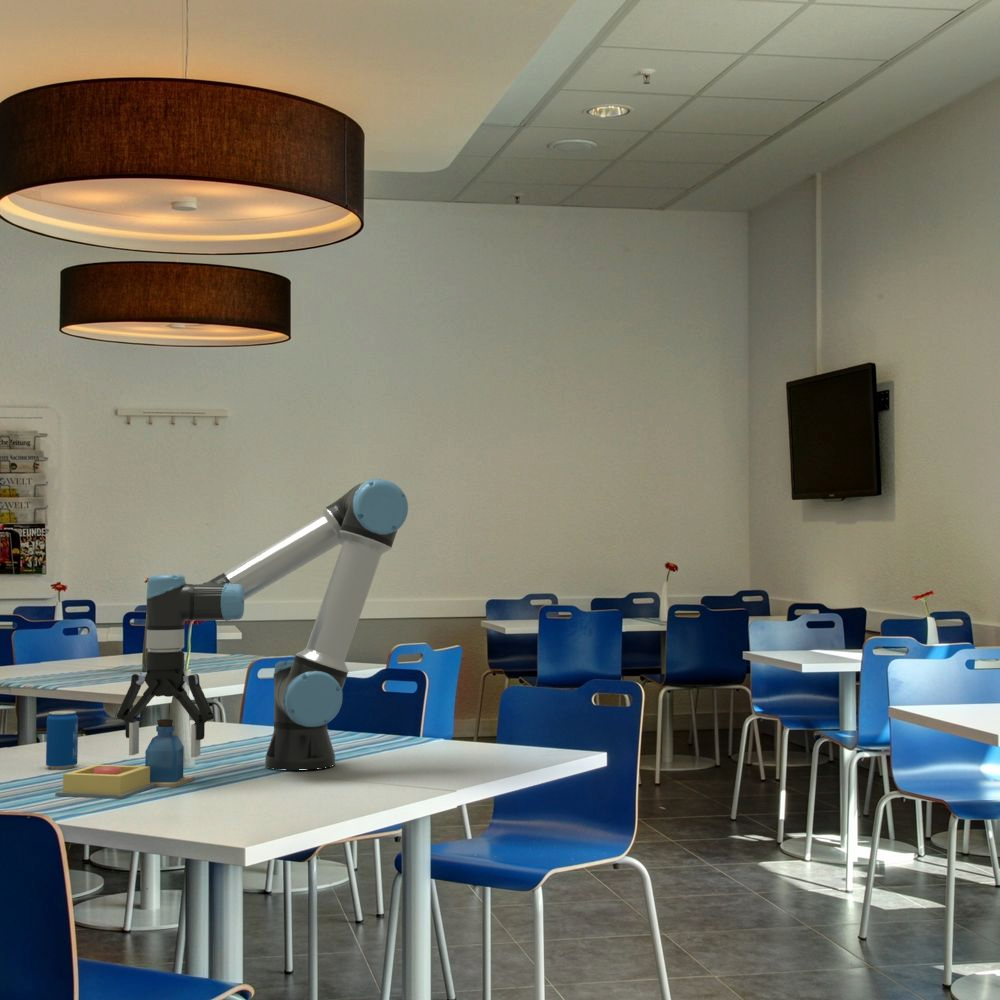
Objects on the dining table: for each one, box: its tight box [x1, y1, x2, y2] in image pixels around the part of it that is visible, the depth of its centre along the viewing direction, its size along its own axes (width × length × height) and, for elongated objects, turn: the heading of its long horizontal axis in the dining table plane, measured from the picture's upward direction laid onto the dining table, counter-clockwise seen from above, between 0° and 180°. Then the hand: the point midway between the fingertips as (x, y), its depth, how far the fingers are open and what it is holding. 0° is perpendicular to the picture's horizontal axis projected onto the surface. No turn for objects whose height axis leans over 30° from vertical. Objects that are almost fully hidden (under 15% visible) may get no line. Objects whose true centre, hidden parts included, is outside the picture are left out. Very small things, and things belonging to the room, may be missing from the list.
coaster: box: [150, 775, 195, 788], centre depth 264 cm, size 9×9×1 cm
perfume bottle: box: [144, 718, 185, 782], centre depth 265 cm, size 6×6×12 cm
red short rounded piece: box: [94, 766, 121, 775], centre depth 255 cm, size 5×5×3 cm
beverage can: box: [45, 710, 79, 770], centre depth 284 cm, size 6×6×12 cm
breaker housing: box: [54, 764, 157, 800], centre depth 255 cm, size 14×14×4 cm
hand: (164, 755), depth 265 cm, fingers open, 13 cm apart
